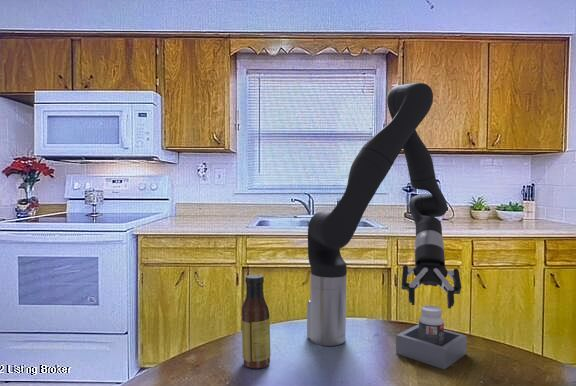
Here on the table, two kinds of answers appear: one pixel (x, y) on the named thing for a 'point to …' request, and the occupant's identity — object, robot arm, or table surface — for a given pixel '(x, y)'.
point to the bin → (431, 348)
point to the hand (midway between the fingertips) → (431, 305)
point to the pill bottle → (431, 325)
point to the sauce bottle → (255, 325)
